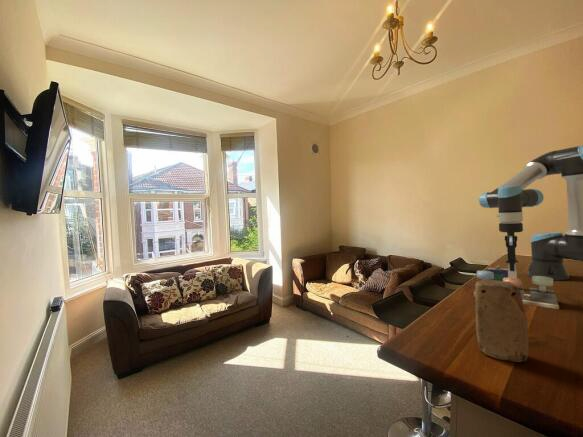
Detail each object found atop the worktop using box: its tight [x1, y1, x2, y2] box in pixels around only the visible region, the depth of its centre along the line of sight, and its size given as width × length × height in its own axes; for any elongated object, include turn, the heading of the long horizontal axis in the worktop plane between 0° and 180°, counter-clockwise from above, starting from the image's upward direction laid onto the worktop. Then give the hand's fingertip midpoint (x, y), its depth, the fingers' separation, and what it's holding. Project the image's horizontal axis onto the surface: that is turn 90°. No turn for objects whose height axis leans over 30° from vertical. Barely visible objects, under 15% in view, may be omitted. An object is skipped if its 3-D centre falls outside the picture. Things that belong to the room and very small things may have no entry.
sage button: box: [531, 276, 554, 293], centre depth 99 cm, size 6×6×6 cm
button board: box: [473, 281, 560, 310], centre depth 106 cm, size 26×10×5 cm, turn 48°
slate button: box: [476, 270, 494, 280], centre depth 112 cm, size 6×6×6 cm
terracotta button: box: [503, 278, 523, 288], centre depth 106 cm, size 6×6×6 cm
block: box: [474, 279, 529, 363], centre depth 68 cm, size 11×8×20 cm
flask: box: [485, 265, 508, 282], centre depth 120 cm, size 9×3×11 cm, turn 68°
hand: (512, 278), depth 105 cm, fingers closed
